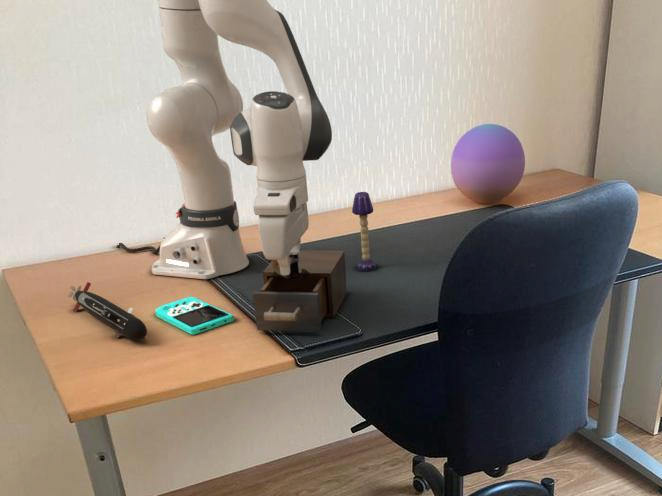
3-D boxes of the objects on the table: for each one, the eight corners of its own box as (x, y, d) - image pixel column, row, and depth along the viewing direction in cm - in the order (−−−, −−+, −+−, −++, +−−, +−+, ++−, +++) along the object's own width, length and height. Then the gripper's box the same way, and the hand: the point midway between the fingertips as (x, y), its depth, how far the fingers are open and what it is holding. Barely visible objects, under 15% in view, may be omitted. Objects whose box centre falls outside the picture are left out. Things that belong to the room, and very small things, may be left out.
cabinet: (333, 317, 165) (330, 273, 160) (267, 316, 168) (262, 272, 163) (347, 293, 176) (344, 250, 171) (284, 291, 179) (280, 250, 174)
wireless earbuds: (289, 282, 155) (287, 265, 153) (272, 272, 160) (270, 256, 158) (311, 277, 157) (309, 260, 155) (293, 267, 162) (292, 251, 160)
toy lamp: (373, 272, 187) (370, 196, 177) (353, 271, 188) (349, 195, 178) (377, 265, 191) (374, 190, 181) (357, 264, 191) (353, 190, 182)
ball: (514, 190, 239) (518, 115, 228) (530, 209, 223) (535, 129, 212) (445, 194, 239) (445, 120, 228) (456, 214, 222) (457, 134, 211)
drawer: (314, 342, 154) (311, 304, 150) (249, 340, 156) (245, 303, 152) (333, 307, 168) (331, 271, 164) (274, 305, 170) (270, 270, 166)
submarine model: (81, 313, 180) (40, 293, 173) (96, 286, 180) (55, 264, 172) (149, 357, 160) (106, 336, 152) (165, 326, 159) (122, 303, 152)
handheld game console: (193, 300, 177) (192, 294, 176) (236, 320, 166) (235, 314, 166) (151, 314, 171) (150, 307, 171) (192, 335, 161) (191, 328, 160)
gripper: (280, 178, 158) (288, 250, 166) (250, 208, 142) (259, 286, 149) (313, 178, 157) (319, 250, 165) (285, 208, 141) (293, 287, 148)
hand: (290, 268), depth 157 cm, fingers closed on wireless earbuds, 5 cm apart
